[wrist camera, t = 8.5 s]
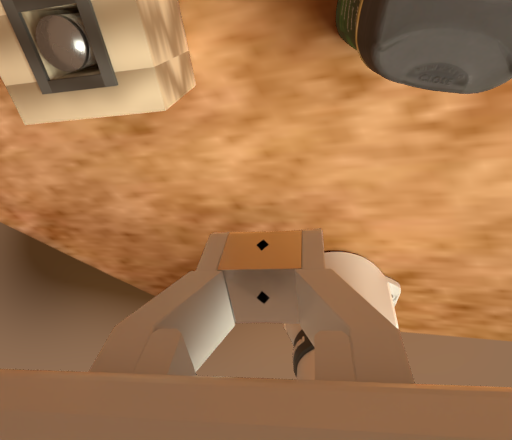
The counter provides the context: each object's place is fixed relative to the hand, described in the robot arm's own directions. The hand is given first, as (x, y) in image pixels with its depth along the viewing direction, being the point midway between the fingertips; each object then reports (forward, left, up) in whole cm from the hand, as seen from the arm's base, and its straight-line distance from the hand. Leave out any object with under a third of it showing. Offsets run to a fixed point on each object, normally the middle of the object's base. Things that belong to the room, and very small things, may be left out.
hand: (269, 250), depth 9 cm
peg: (+5, +18, -31) cm, 36 cm away
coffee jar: (+4, -9, -31) cm, 33 cm away
